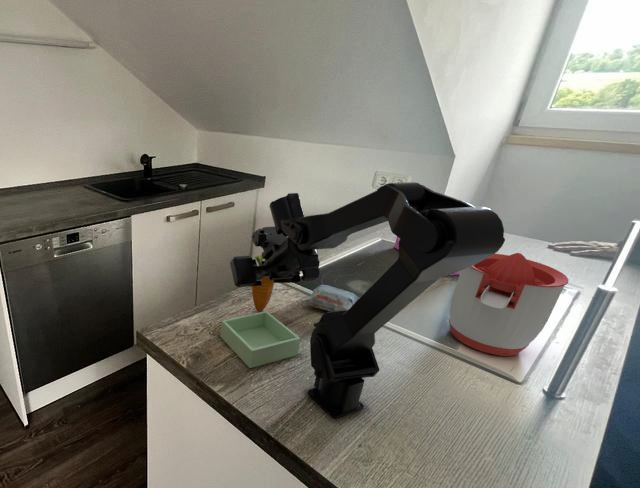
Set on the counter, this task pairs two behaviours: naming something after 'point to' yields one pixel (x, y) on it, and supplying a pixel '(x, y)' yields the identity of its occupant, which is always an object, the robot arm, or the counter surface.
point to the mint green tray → (259, 338)
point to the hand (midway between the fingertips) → (260, 281)
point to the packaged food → (331, 298)
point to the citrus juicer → (503, 303)
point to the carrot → (262, 290)
